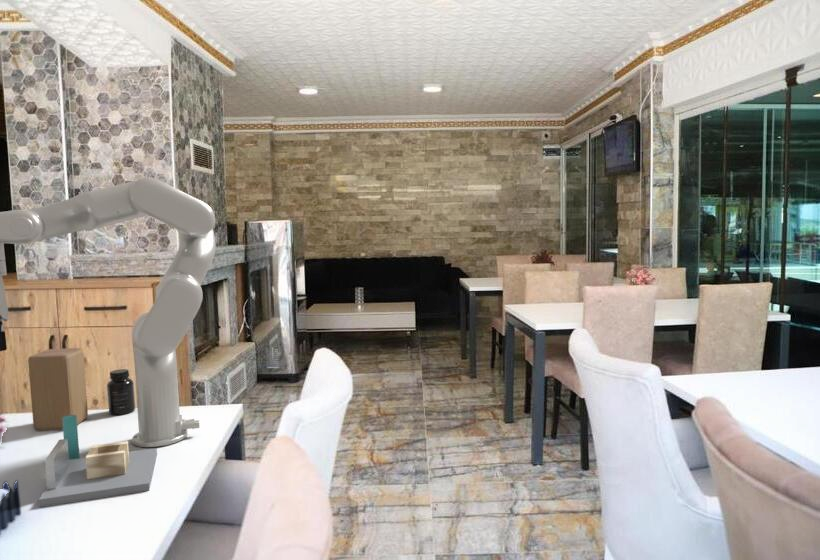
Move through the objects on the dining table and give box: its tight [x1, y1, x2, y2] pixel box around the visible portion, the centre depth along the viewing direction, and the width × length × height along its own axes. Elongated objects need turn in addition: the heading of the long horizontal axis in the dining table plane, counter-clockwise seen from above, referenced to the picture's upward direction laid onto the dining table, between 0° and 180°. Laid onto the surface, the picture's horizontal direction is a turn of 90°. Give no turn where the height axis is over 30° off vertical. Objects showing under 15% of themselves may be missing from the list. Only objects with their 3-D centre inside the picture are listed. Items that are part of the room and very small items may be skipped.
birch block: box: [85, 440, 130, 479], centre depth 123 cm, size 7×7×4 cm
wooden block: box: [27, 347, 89, 431], centre depth 158 cm, size 10×10×20 cm
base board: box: [38, 447, 158, 508], centre depth 123 cm, size 19×20×2 cm
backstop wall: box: [44, 438, 69, 490], centre depth 120 cm, size 2×12×6 cm, turn 19°
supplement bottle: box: [106, 368, 136, 416], centre depth 168 cm, size 7×7×12 cm
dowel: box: [62, 415, 81, 460], centre depth 133 cm, size 3×3×10 cm
